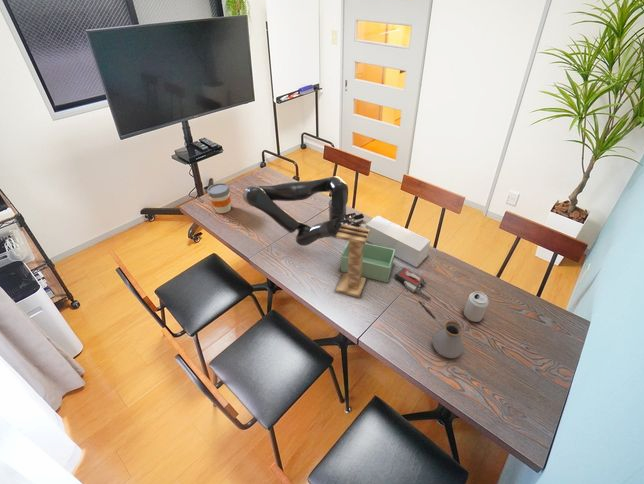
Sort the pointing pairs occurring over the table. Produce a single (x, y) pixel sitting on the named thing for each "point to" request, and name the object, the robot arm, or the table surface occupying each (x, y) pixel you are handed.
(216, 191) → the reusable coffee cup
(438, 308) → the table surface
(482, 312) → the can
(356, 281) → the stand
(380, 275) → the bin
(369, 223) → the stack of papers
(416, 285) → the walkie-talkie
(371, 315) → the table surface
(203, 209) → the table surface
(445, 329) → the coffee pot
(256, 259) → the table surface
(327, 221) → the robot arm
